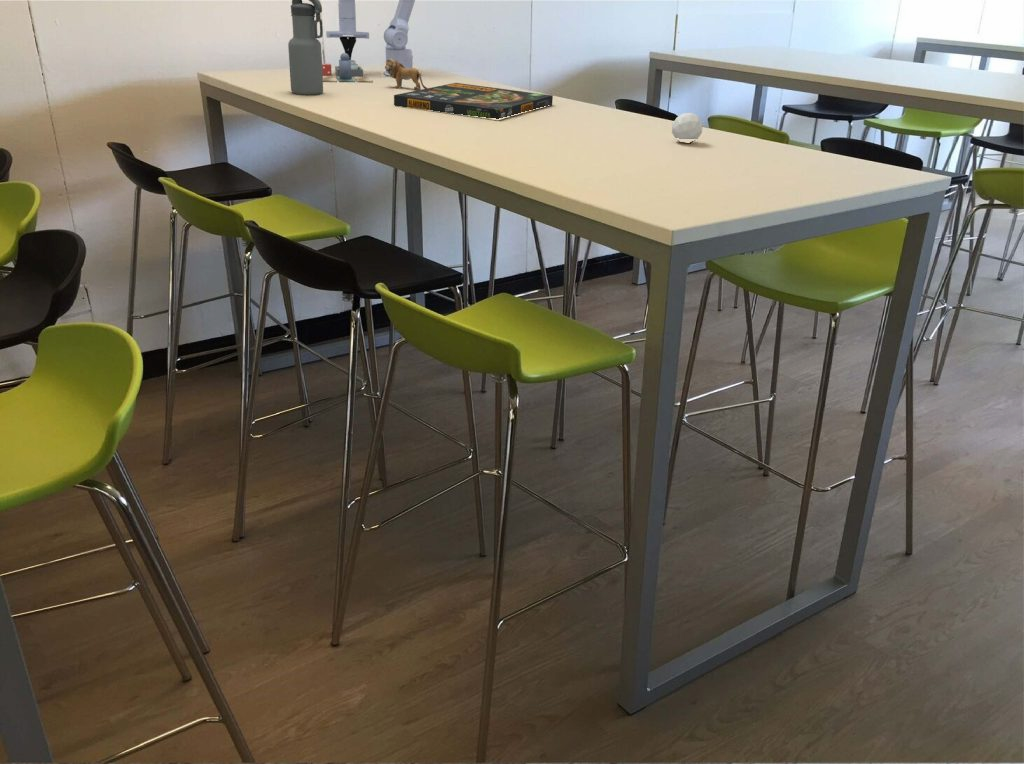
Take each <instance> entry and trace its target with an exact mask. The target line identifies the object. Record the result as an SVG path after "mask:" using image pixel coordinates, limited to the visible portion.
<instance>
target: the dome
mask: <svg viewBox="0 0 1024 764" xmlns="http://www.w3.org/2000/svg"><path fill="white" fill-rule="evenodd" d="M356 62H357V61H356V60H355V59H354V60H353V59H351V69H356V70H358V66H359V65H358V63H356Z"/></svg>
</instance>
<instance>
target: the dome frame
mask: <svg viewBox="0 0 1024 764" xmlns="http://www.w3.org/2000/svg"><path fill="white" fill-rule="evenodd" d="M334 73H335V75H336V77H340V76H339V65H335V66H334ZM351 77H352V78H354V77H364V69H363V68H362V67H361V66H359V65H358V70H356V69H351Z"/></svg>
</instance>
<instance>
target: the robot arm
mask: <svg viewBox="0 0 1024 764" xmlns="http://www.w3.org/2000/svg"><path fill="white" fill-rule="evenodd" d="M415 2H416V0H398V3H397V6H396V9H395V13H394V15H393V18H392V20H390V22H389V26H388V27H387V28H386V29H385V30H384V32H383V39H384V42H385V43H386V46H385V61H386V60H388V59H394V60H396V61H398V62H399V63H401V64H402V65H403V66H404V67H405V68H407V69H410V68H414V67H413V64H414V63H413V51H412V49H411V48H407V47H406V46H407V44H408V41H409V38H408V33H409V30H410V28H409V21H410V17H411V14H412V11H413V8H414V5H415ZM337 6H338V8H337V9H338V27H339V28H338V29H339V30H336V31H335V30H330V31H329V30H326V32H325V33H326V35H325V37H326V38H329V39H330V38H331V39H332V38H334V39H335V38H337V39H338V38H339V40H340V42H341V45H342V47H343V50H344V53H347V54H348V55H349V60H352V54H353V50H354V47H355V45H356V42H357V39H370V32H369V31H357V23H356V22H357V17H356V15H357V14H356V0H338V4H337ZM383 73H384V74H385V75H386V76H387V77H389V76H391V75H390V74H389V73H388V72H386V70H385V71H383ZM391 77H392V76H391Z"/></svg>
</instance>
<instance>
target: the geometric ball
mask: <svg viewBox="0 0 1024 764" xmlns="http://www.w3.org/2000/svg"><path fill="white" fill-rule="evenodd" d="M702 133H703V122H702V121H701V119H700V117H699V116H698V115H697V114H695V113H694V112H683V113H681V114H679V116H677V117H676V118H675V120H673V123H672V124H671V134H672V135H673V137H674V139H675V138H679V139H697V140H698V139H699V137H701V135H702Z"/></svg>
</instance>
